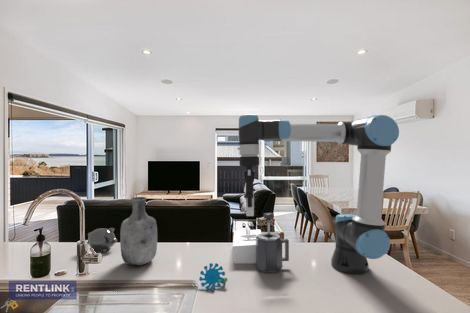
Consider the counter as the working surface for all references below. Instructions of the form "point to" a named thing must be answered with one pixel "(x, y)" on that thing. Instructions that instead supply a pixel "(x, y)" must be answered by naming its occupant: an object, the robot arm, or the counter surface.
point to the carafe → (270, 252)
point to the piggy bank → (102, 239)
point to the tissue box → (245, 245)
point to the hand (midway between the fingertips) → (250, 211)
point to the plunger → (268, 217)
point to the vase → (138, 235)
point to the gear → (213, 277)
